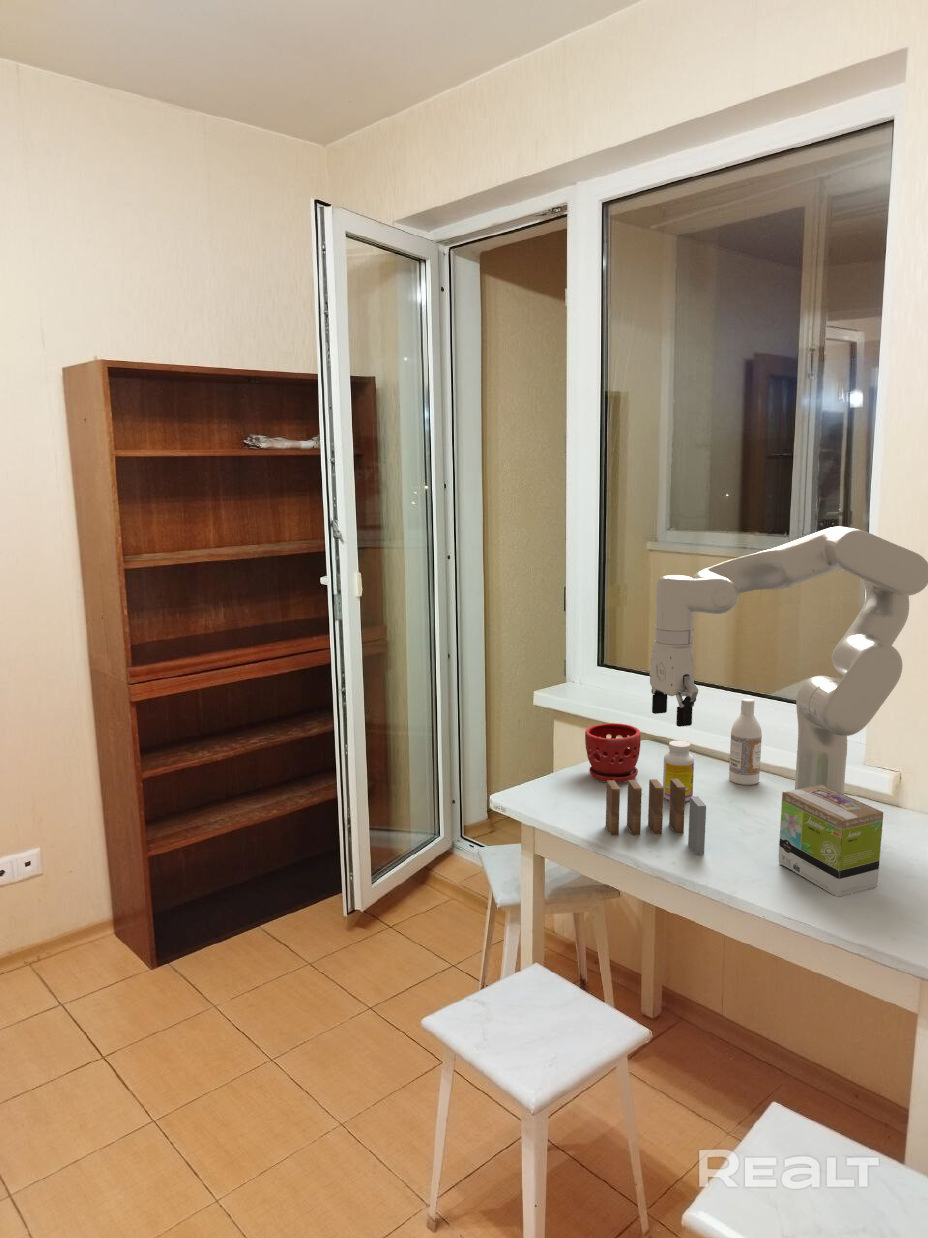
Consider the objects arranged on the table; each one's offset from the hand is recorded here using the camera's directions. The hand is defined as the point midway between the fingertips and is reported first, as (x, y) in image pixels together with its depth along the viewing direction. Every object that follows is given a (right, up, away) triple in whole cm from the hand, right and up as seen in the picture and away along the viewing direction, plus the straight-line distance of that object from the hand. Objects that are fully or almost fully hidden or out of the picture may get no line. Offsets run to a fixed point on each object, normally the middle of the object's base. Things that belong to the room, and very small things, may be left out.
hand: (671, 719), depth 183 cm
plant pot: (-7, -18, +34) cm, 39 cm away
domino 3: (-3, -23, +3) cm, 24 cm away
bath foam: (+25, -18, +31) cm, 44 cm away
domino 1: (-12, -23, +2) cm, 26 cm away
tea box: (+24, -27, -18) cm, 41 cm away
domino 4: (+2, -23, +3) cm, 23 cm away
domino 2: (-7, -23, +3) cm, 25 cm away
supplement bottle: (+6, -20, +21) cm, 30 cm away
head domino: (+3, -25, -7) cm, 26 cm away
